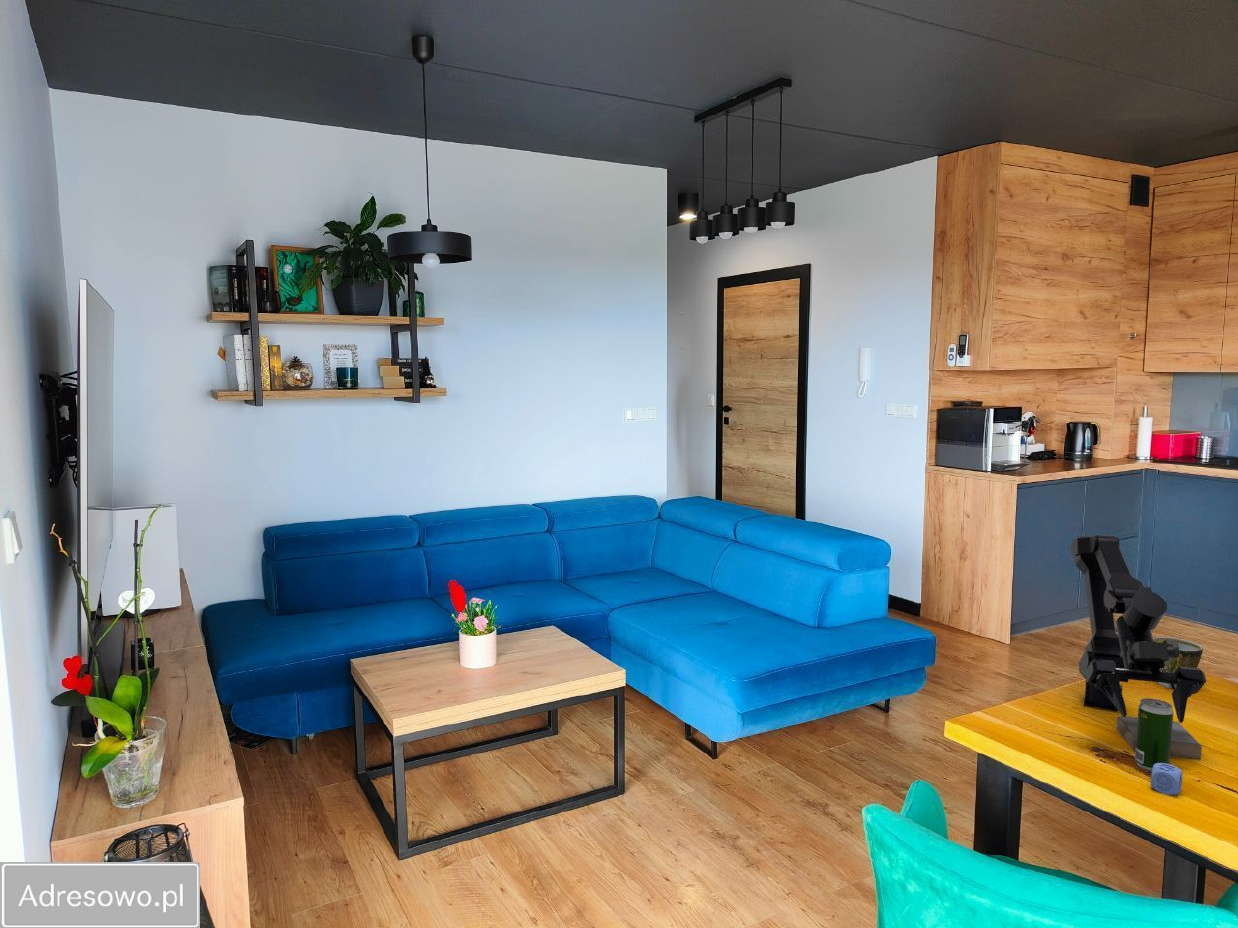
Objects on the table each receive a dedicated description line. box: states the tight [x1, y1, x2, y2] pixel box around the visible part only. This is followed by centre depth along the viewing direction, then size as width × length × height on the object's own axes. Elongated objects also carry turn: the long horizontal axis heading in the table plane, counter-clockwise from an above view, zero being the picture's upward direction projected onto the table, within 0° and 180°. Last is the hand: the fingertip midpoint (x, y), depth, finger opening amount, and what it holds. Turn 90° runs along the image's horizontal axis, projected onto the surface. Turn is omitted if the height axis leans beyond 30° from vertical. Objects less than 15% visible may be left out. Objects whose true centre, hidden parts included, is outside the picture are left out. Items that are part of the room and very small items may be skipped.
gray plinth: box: [1115, 715, 1203, 761], centre depth 160 cm, size 11×11×3 cm
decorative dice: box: [1150, 763, 1183, 796], centre depth 141 cm, size 4×4×4 cm
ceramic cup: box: [1153, 636, 1204, 690], centre depth 190 cm, size 13×10×10 cm
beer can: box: [1134, 697, 1174, 773], centre depth 150 cm, size 5×5×12 cm
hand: (1153, 718), depth 150 cm, fingers open, 9 cm apart
